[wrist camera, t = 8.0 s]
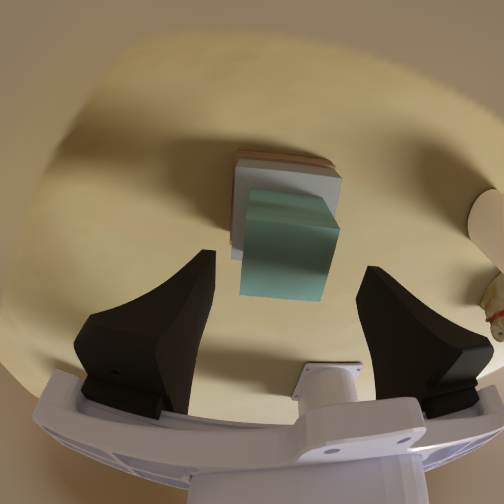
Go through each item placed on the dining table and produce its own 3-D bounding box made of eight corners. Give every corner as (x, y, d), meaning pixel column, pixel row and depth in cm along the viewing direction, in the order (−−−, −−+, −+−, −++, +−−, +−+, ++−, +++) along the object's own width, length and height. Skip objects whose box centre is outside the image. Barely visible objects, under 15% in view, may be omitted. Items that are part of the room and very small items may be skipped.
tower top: (317, 249, 21) (323, 267, 19) (234, 241, 21) (231, 259, 19) (333, 168, 18) (342, 178, 16) (239, 158, 18) (235, 166, 16)
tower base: (314, 237, 24) (318, 252, 21) (233, 230, 24) (229, 244, 22) (328, 158, 20) (335, 166, 18) (237, 148, 20) (234, 154, 18)
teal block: (309, 258, 19) (319, 301, 15) (244, 252, 19) (239, 294, 15) (322, 197, 17) (339, 229, 13) (250, 189, 17) (245, 218, 13)
